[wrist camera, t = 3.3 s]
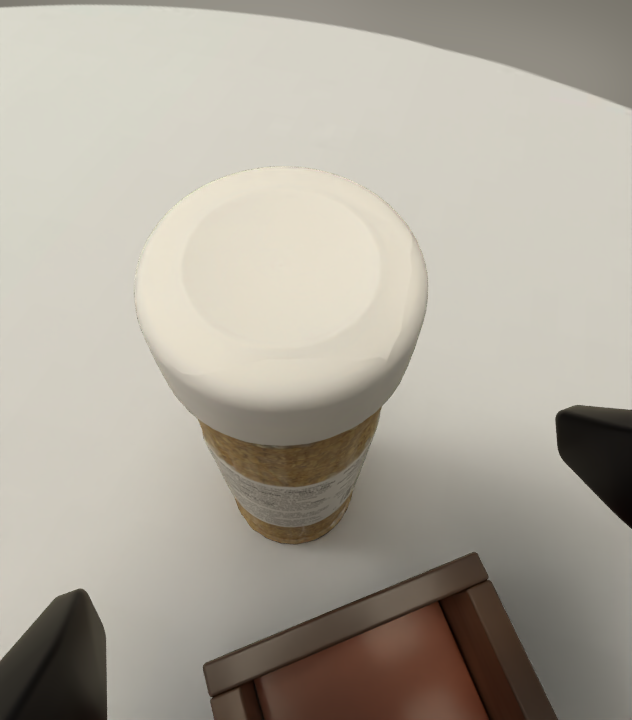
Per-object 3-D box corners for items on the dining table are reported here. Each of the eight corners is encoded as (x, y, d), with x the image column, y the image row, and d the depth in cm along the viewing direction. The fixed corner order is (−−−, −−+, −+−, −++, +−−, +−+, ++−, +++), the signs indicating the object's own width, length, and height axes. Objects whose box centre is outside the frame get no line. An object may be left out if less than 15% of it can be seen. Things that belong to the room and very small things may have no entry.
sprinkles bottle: (278, 408, 21) (248, 118, 9) (375, 467, 20) (485, 228, 8) (208, 503, 19) (56, 296, 7) (311, 574, 18) (330, 470, 6)
